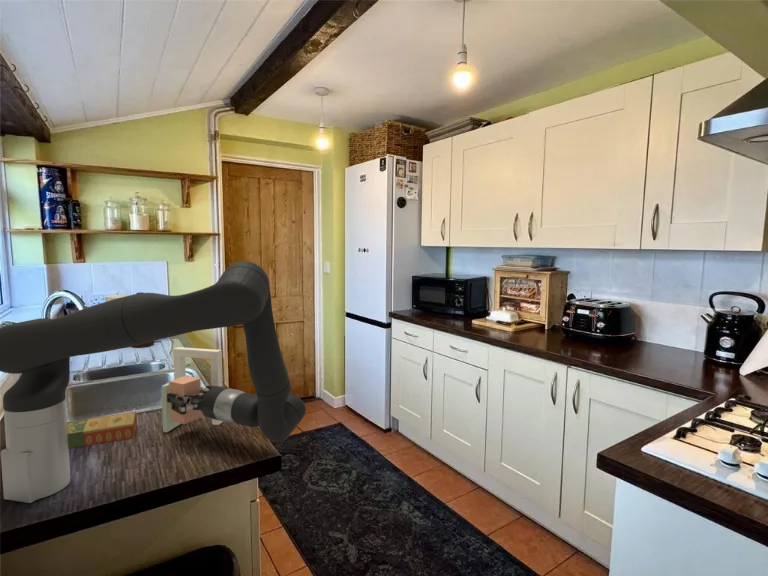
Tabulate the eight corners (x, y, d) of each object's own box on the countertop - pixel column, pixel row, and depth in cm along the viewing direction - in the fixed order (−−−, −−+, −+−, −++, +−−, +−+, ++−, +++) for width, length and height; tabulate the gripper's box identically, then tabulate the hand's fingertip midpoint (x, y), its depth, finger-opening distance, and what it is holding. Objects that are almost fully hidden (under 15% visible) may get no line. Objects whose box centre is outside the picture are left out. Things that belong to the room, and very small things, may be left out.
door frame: (218, 424, 113) (217, 351, 111) (175, 420, 115) (173, 348, 113) (223, 421, 115) (221, 350, 113) (180, 417, 117) (178, 347, 115)
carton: (134, 439, 104) (133, 423, 104) (54, 452, 97) (52, 435, 97) (137, 426, 112) (136, 410, 111) (62, 437, 105) (61, 421, 104)
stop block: (184, 424, 102) (183, 384, 101) (170, 420, 104) (169, 381, 104) (201, 416, 107) (200, 378, 106) (188, 413, 109) (186, 375, 108)
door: (163, 431, 107) (161, 385, 106) (183, 419, 115) (182, 376, 114) (167, 432, 107) (165, 386, 106) (187, 419, 114) (186, 376, 113)
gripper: (249, 380, 105) (200, 371, 112) (201, 399, 92) (150, 387, 99) (250, 409, 106) (201, 399, 113) (203, 432, 93) (152, 418, 100)
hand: (178, 393), depth 106 cm, fingers closed on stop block, 5 cm apart
